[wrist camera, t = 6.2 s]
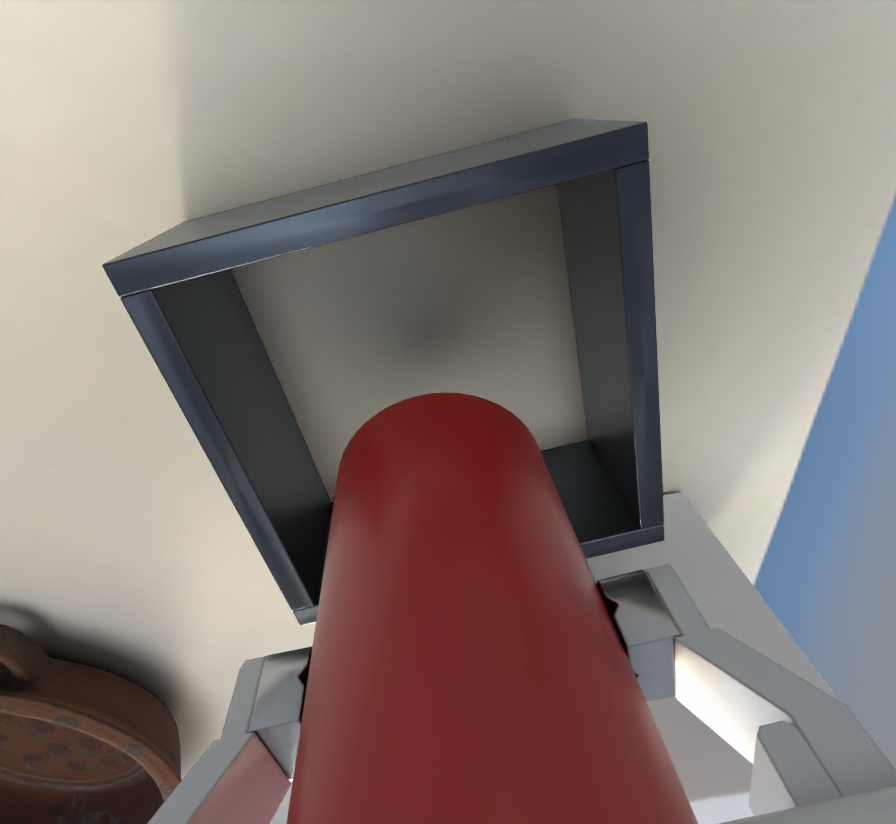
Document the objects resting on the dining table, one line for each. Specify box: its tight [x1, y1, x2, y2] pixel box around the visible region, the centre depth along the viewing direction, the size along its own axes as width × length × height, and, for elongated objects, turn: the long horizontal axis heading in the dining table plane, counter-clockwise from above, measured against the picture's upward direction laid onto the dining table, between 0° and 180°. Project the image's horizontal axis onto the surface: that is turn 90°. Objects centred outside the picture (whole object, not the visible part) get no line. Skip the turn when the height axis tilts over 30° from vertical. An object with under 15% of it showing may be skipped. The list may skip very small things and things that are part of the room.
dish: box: [0, 624, 182, 824], centre depth 33 cm, size 17×22×5 cm
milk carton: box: [586, 493, 839, 824], centre depth 24 cm, size 7×7×19 cm
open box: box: [102, 119, 664, 625], centre depth 22 cm, size 16×16×7 cm
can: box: [287, 393, 698, 824], centre depth 11 cm, size 6×6×12 cm
